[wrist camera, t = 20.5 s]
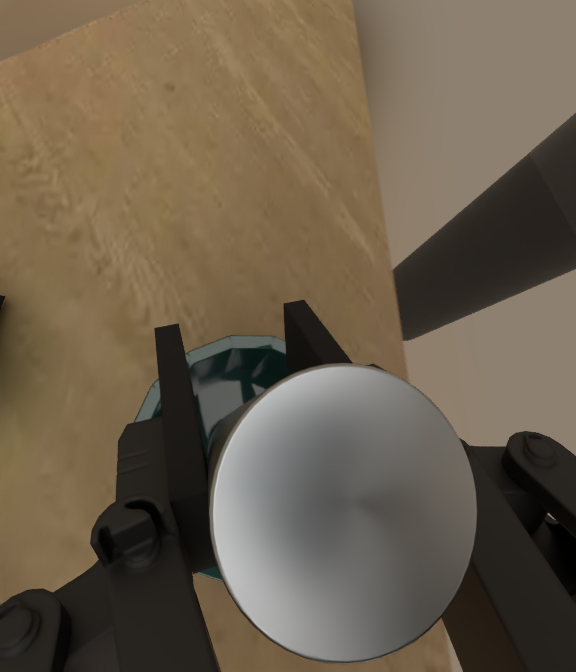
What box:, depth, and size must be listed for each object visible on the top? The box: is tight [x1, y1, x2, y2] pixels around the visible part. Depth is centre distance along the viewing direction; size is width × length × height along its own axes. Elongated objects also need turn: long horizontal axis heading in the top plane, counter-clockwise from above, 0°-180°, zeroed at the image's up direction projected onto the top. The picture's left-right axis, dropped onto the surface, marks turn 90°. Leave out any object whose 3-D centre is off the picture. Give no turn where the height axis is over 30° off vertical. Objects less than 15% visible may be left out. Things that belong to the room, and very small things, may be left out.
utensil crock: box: [134, 335, 291, 582], centre depth 19 cm, size 10×10×7 cm
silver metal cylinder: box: [208, 363, 477, 665], centre depth 11 cm, size 4×4×12 cm
